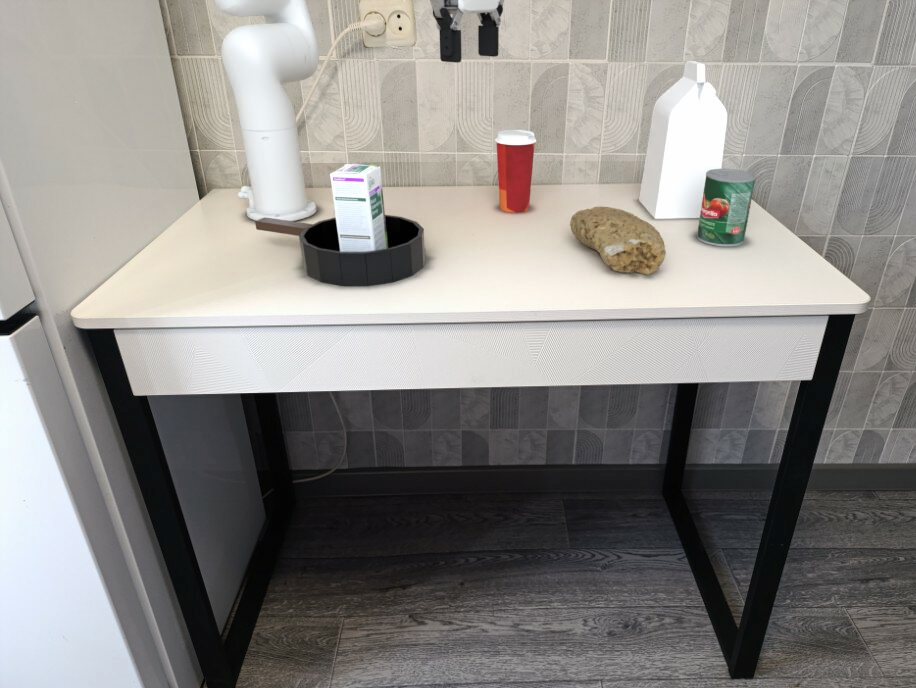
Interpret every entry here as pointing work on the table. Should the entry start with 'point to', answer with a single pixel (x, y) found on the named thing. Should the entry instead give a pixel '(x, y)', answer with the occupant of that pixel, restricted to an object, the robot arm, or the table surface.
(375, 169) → the syrup box
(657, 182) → the milk
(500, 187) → the paper cup
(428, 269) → the table surface
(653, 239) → the sponge
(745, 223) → the canned tomato
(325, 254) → the pan
